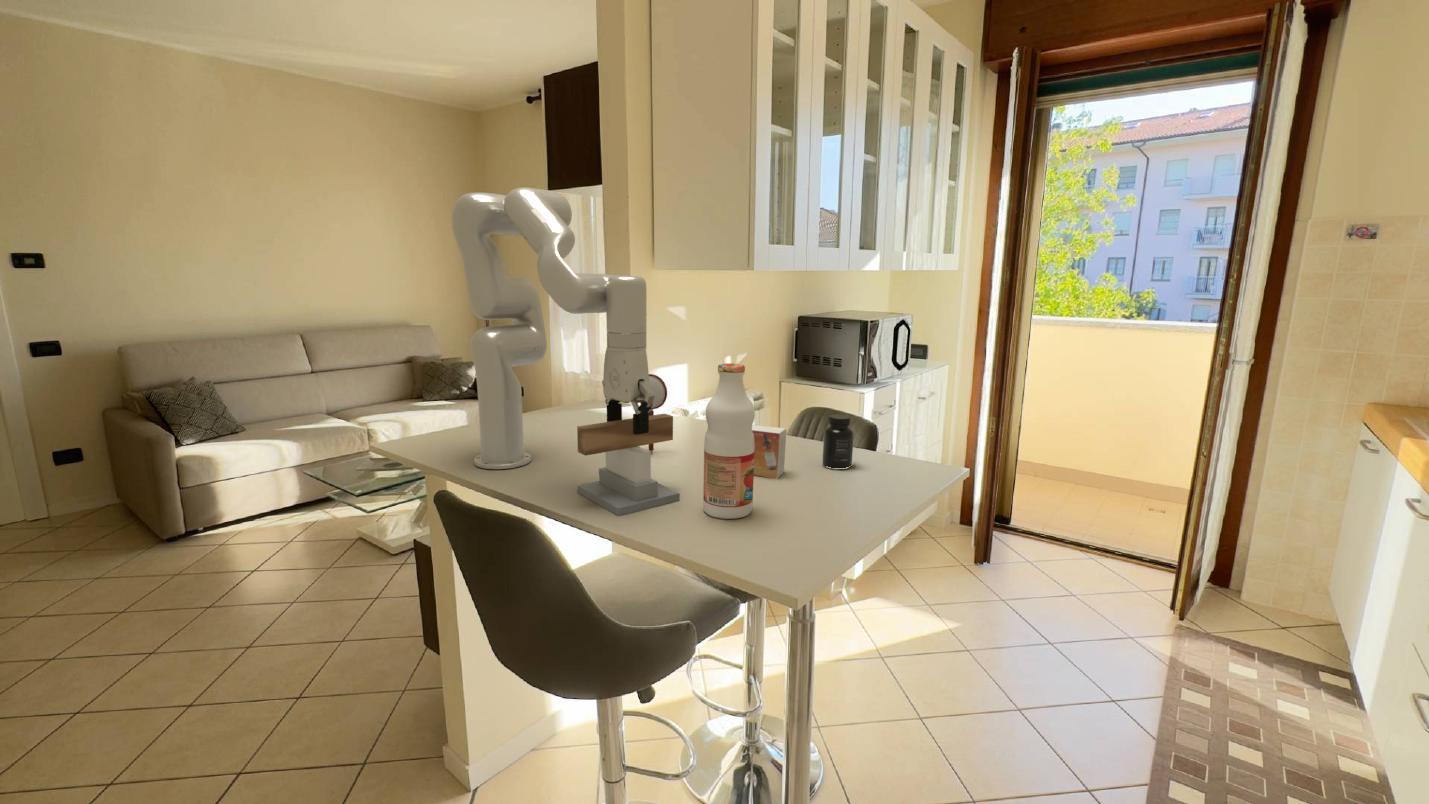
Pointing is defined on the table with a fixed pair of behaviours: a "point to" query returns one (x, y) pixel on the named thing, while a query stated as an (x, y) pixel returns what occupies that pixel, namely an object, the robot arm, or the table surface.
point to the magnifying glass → (657, 396)
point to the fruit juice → (729, 447)
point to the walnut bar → (622, 434)
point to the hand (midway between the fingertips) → (627, 428)
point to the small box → (769, 451)
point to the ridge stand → (627, 483)
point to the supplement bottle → (838, 442)
